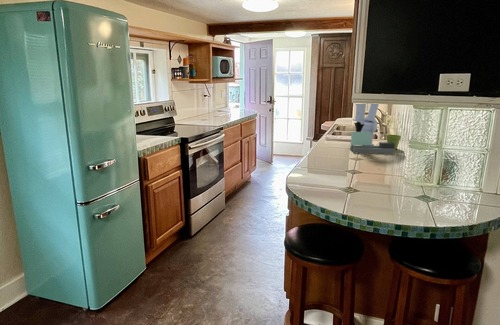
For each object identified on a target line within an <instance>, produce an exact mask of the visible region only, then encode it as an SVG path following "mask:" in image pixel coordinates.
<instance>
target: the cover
mask: <svg viewBox="0 0 500 325" xmlns="http://www.w3.org/2000/svg"><path fill="white" fill-rule="evenodd" d="M350 133H351V138H350V145H355V146H366V145H369V146H370V132H362V131H361V132H356V131H351V132H350Z"/></svg>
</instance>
